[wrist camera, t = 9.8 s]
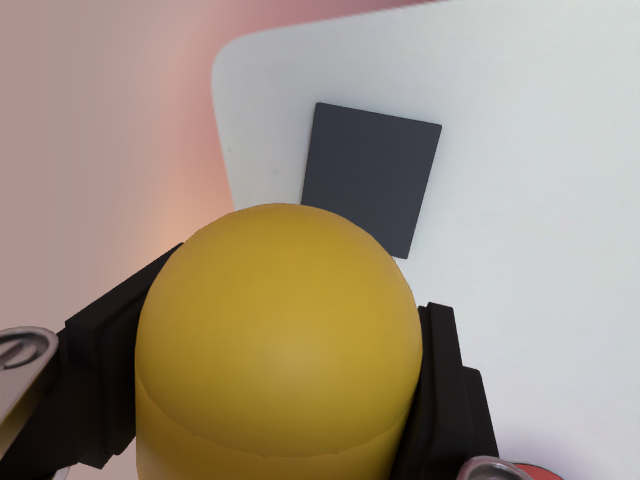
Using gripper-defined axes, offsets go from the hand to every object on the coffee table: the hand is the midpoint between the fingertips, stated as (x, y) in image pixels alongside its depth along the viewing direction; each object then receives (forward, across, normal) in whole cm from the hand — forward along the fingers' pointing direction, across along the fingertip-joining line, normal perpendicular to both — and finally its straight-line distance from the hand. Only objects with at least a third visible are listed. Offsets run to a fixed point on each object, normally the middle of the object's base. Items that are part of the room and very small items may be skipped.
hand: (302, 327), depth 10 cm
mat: (+16, 0, 0) cm, 16 cm away
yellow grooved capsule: (0, 0, 0) cm, 0 cm away
